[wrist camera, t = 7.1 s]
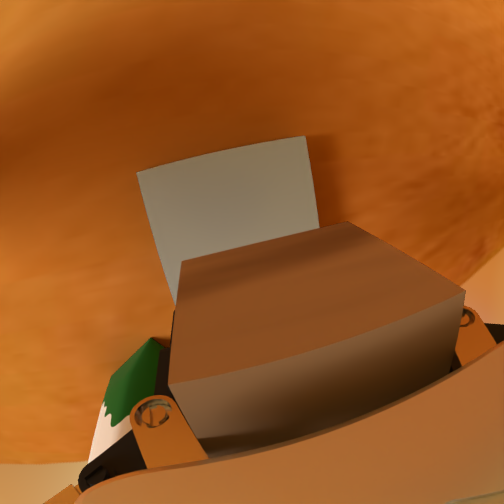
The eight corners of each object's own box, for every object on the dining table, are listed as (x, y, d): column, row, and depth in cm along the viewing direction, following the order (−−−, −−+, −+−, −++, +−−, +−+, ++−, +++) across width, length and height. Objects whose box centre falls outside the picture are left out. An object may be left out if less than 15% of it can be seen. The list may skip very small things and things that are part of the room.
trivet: (142, 170, 22) (136, 172, 20) (294, 136, 23) (305, 135, 21) (182, 308, 26) (181, 323, 24) (315, 274, 27) (326, 286, 25)
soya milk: (219, 375, 29) (253, 567, 10) (164, 416, 30) (166, 581, 11) (148, 324, 26) (118, 546, 7) (98, 375, 27) (57, 551, 8)
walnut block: (181, 261, 10) (167, 385, 5) (347, 221, 11) (465, 290, 5) (223, 387, 12) (243, 510, 7) (354, 350, 13) (423, 446, 7)
